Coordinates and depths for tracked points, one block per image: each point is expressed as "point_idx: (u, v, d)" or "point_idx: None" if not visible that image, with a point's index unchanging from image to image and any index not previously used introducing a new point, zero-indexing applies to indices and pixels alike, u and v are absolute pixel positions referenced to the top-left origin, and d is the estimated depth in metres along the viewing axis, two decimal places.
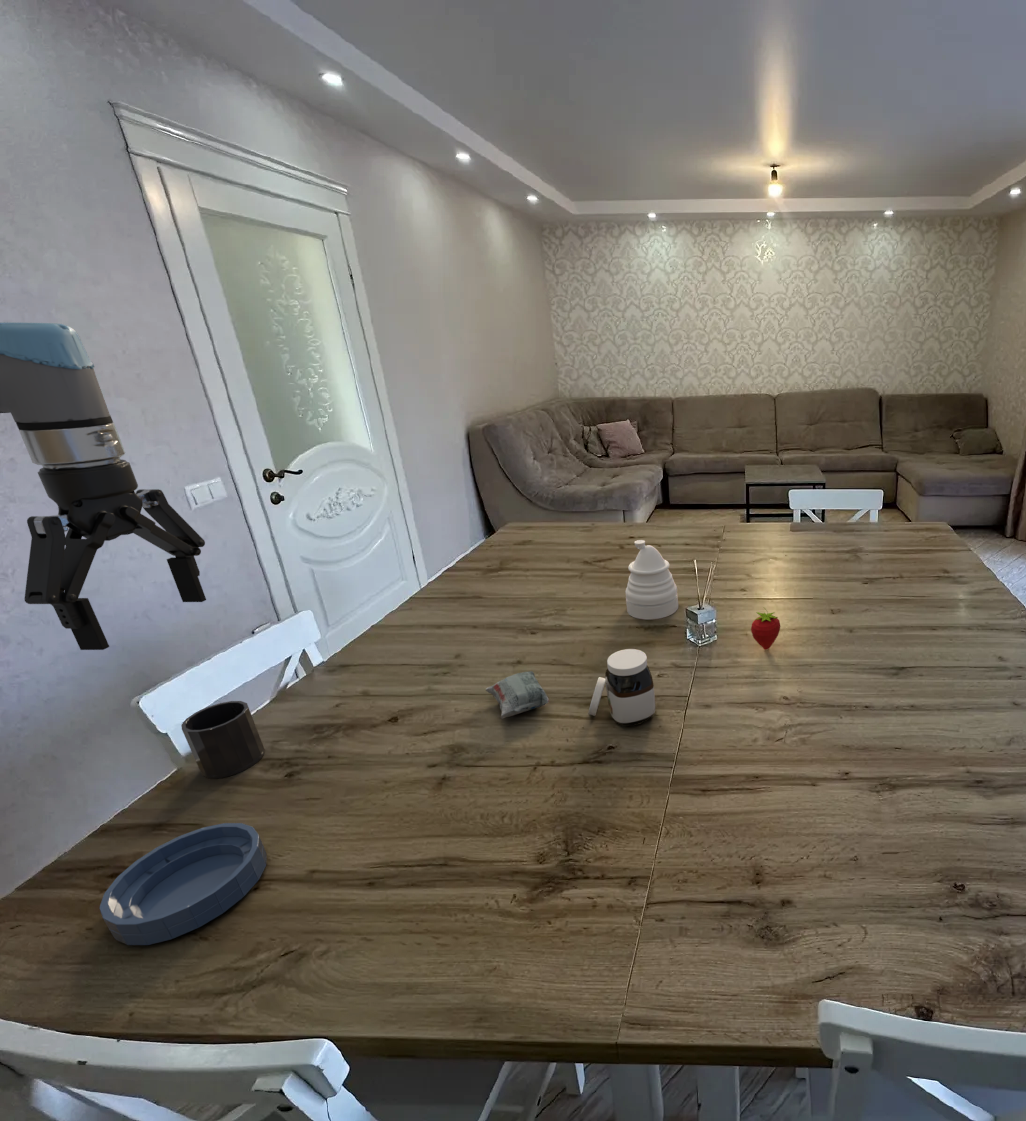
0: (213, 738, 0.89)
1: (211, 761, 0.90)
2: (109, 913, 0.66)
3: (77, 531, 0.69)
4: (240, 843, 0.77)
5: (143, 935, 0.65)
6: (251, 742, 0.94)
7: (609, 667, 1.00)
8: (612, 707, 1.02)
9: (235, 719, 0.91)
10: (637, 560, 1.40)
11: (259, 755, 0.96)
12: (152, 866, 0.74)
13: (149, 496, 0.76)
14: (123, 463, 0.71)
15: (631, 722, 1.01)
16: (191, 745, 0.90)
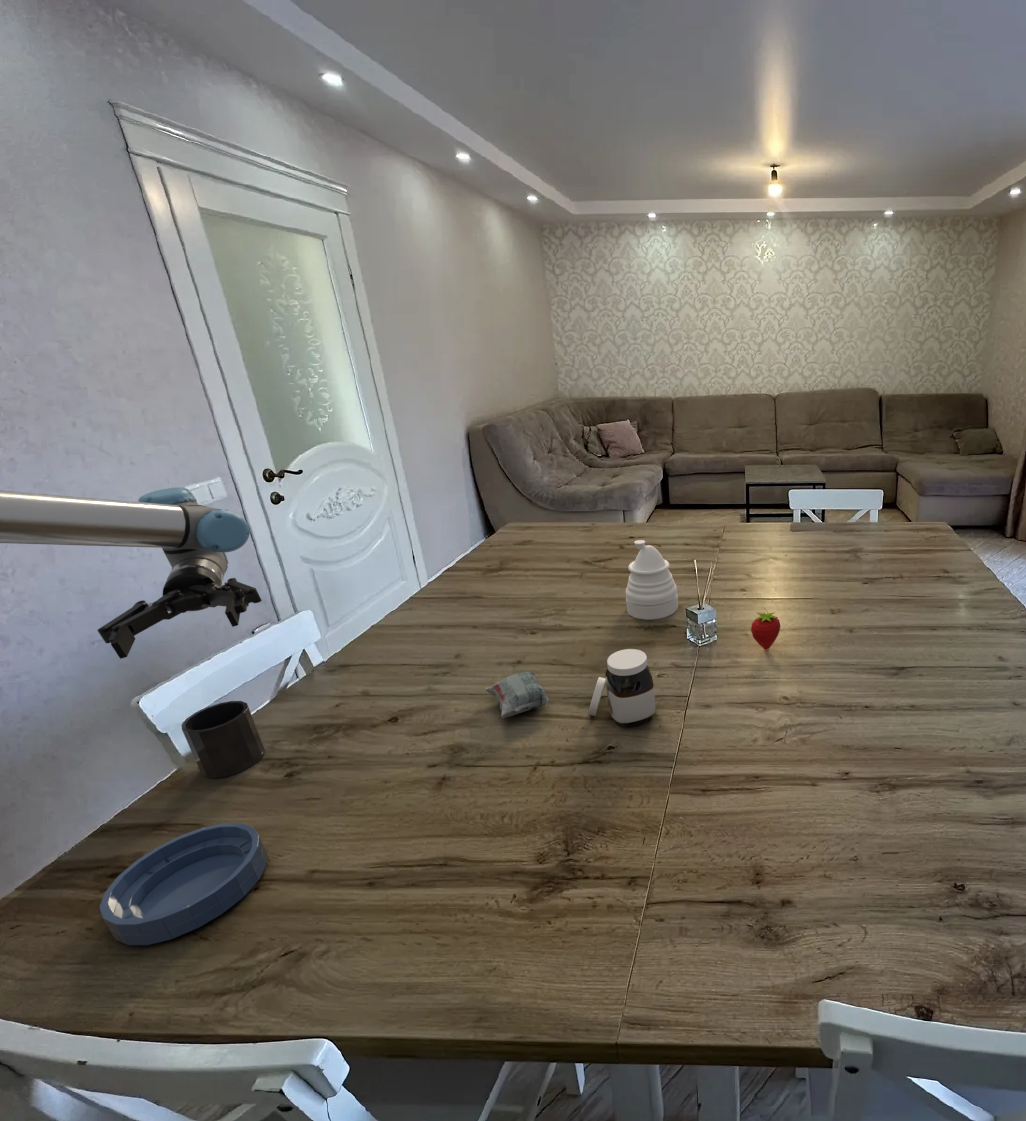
0: (213, 738, 0.89)
1: (211, 761, 0.90)
2: (109, 913, 0.66)
3: None
4: (240, 843, 0.77)
5: (143, 935, 0.65)
6: (251, 742, 0.94)
7: (609, 667, 1.00)
8: (612, 707, 1.02)
9: (235, 719, 0.91)
10: (637, 560, 1.40)
11: (259, 755, 0.96)
12: (152, 866, 0.74)
13: None
14: None
15: (631, 722, 1.01)
16: (191, 745, 0.90)
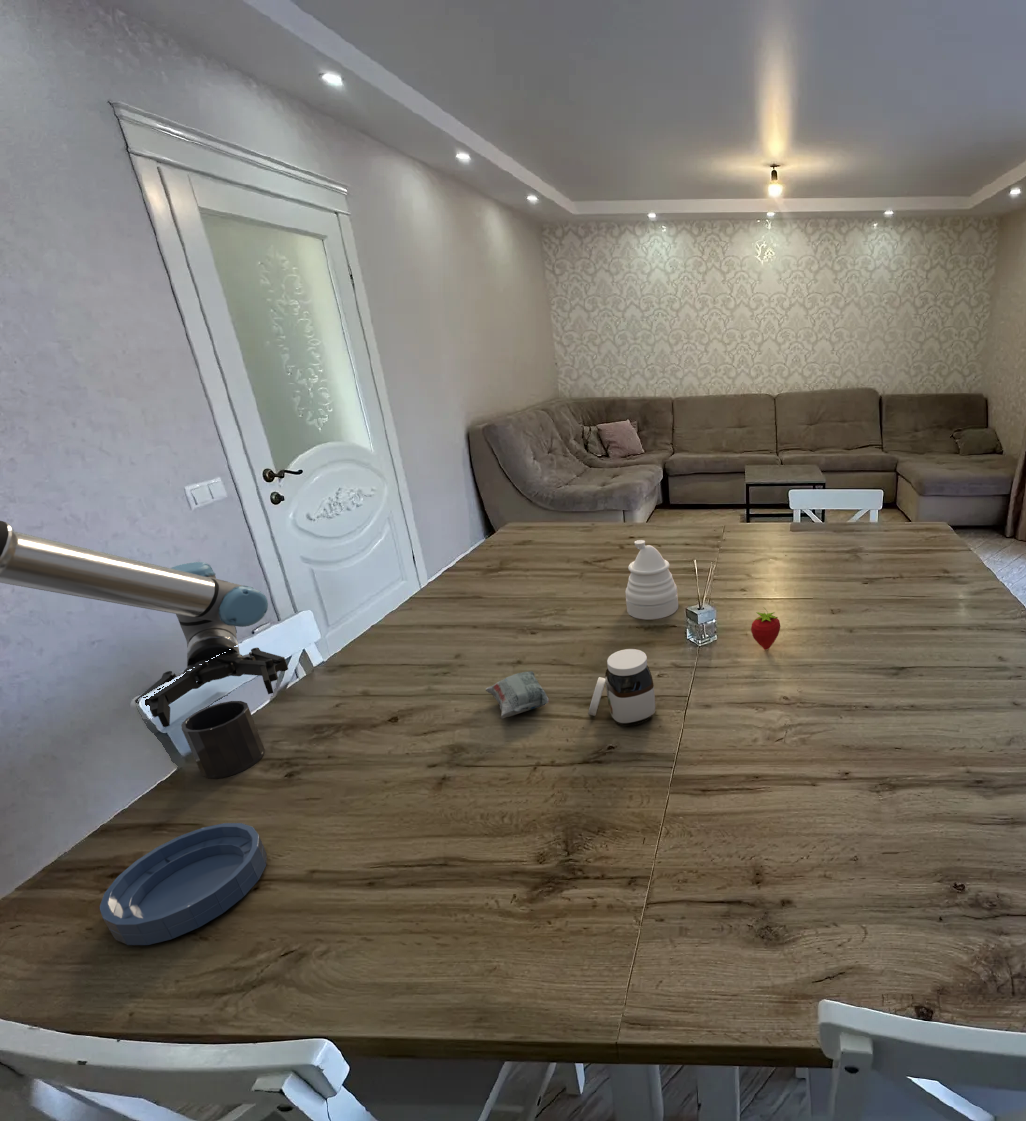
0: (213, 738, 0.89)
1: (211, 761, 0.90)
2: (109, 913, 0.66)
3: None
4: (240, 843, 0.77)
5: (143, 935, 0.65)
6: (251, 742, 0.94)
7: (609, 667, 1.00)
8: (612, 707, 1.02)
9: (235, 719, 0.91)
10: (637, 560, 1.40)
11: (259, 755, 0.96)
12: (152, 866, 0.74)
13: None
14: None
15: (631, 722, 1.01)
16: (191, 745, 0.90)
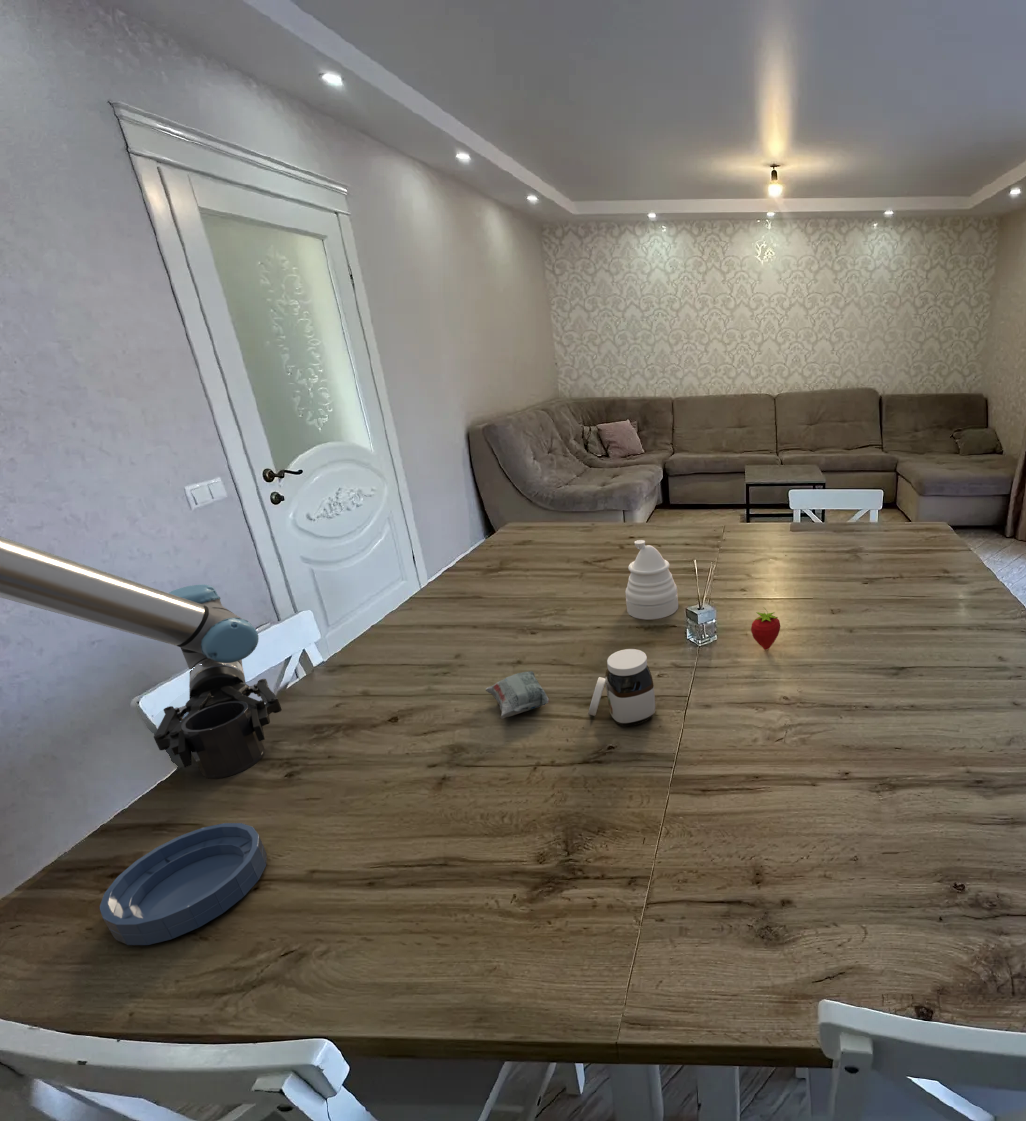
0: (213, 738, 0.89)
1: (211, 761, 0.90)
2: (109, 913, 0.66)
3: None
4: (240, 843, 0.77)
5: (143, 935, 0.65)
6: (251, 742, 0.94)
7: (609, 667, 1.00)
8: (612, 707, 1.02)
9: (235, 719, 0.91)
10: (637, 560, 1.40)
11: (259, 755, 0.96)
12: (152, 866, 0.74)
13: None
14: None
15: (631, 722, 1.01)
16: (191, 745, 0.90)
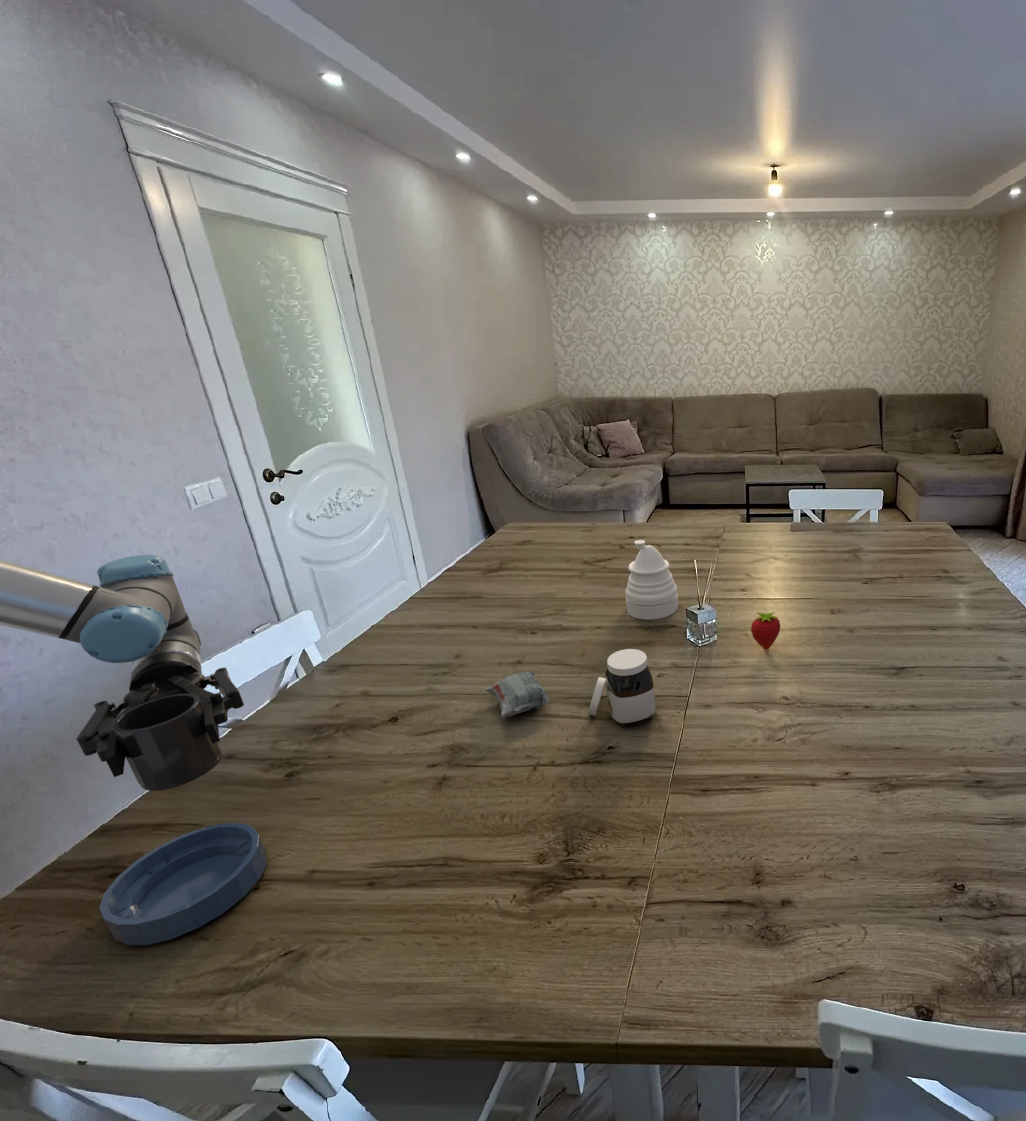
0: (152, 739, 0.71)
1: (150, 768, 0.72)
2: (109, 913, 0.66)
3: None
4: (240, 843, 0.77)
5: (143, 935, 0.65)
6: (203, 745, 0.75)
7: (609, 667, 1.00)
8: (612, 707, 1.02)
9: (181, 716, 0.73)
10: (637, 560, 1.40)
11: (214, 761, 0.77)
12: (152, 866, 0.74)
13: None
14: None
15: (631, 722, 1.01)
16: (124, 748, 0.71)
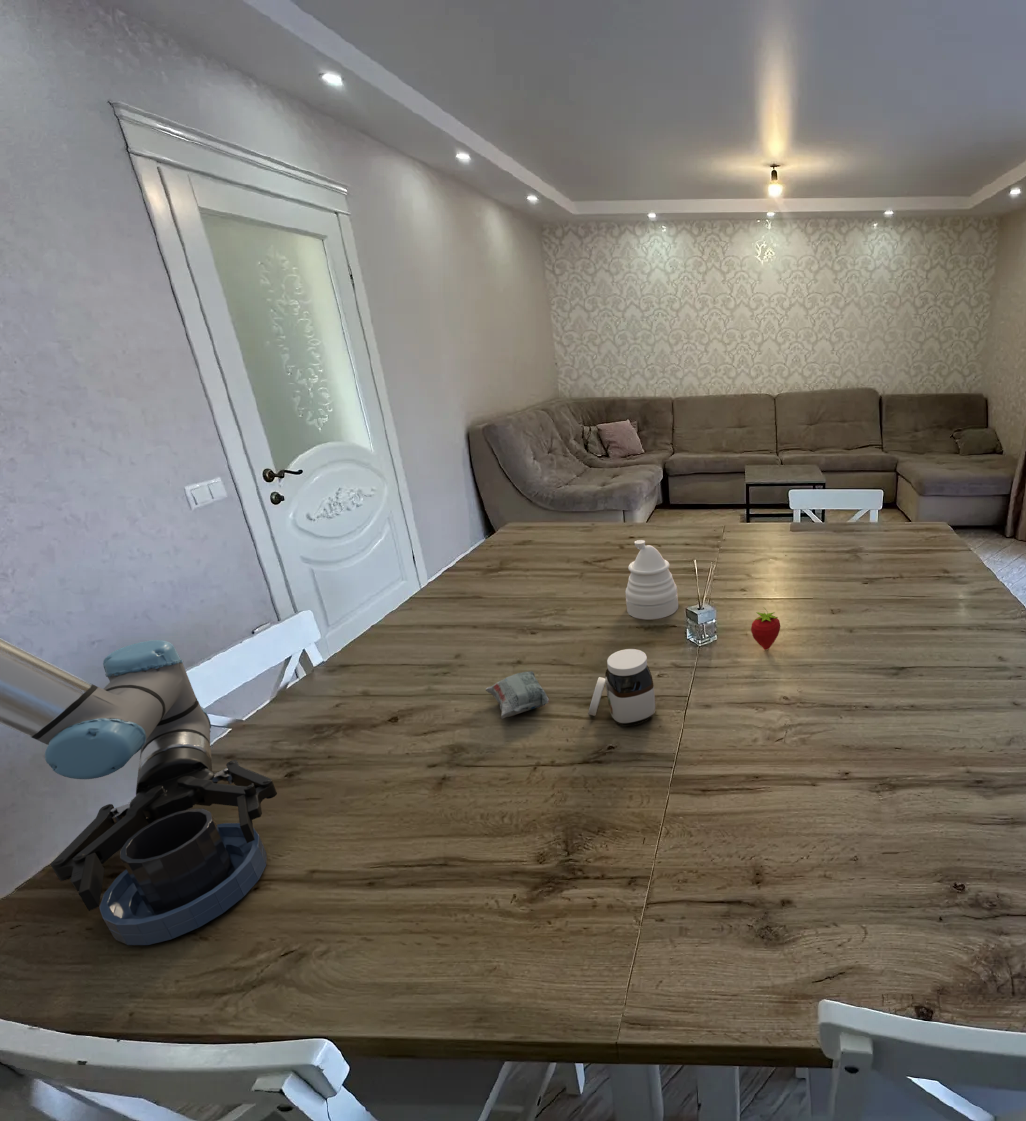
0: (162, 868, 0.67)
1: (161, 897, 0.68)
2: (109, 913, 0.66)
3: None
4: (240, 843, 0.77)
5: (143, 935, 0.65)
6: (216, 866, 0.71)
7: (609, 667, 1.00)
8: (612, 707, 1.02)
9: (193, 840, 0.69)
10: (637, 560, 1.40)
11: None
12: None
13: None
14: None
15: (631, 722, 1.01)
16: (133, 878, 0.67)
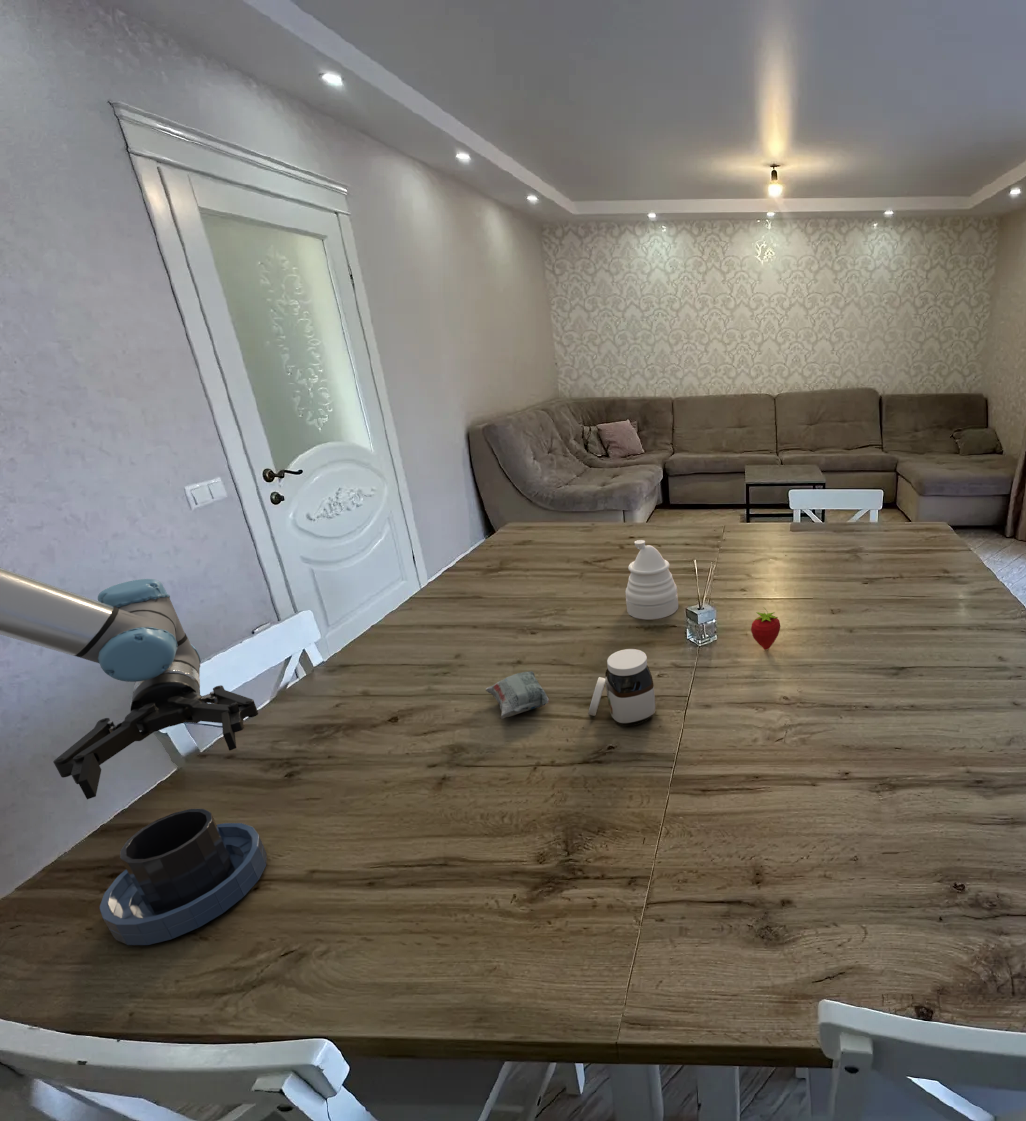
0: (162, 868, 0.67)
1: (161, 897, 0.68)
2: (109, 913, 0.66)
3: None
4: (240, 843, 0.77)
5: (143, 935, 0.65)
6: (216, 866, 0.71)
7: (609, 667, 1.00)
8: (612, 707, 1.02)
9: (193, 840, 0.69)
10: (637, 560, 1.40)
11: None
12: None
13: None
14: None
15: (631, 722, 1.01)
16: (133, 878, 0.67)
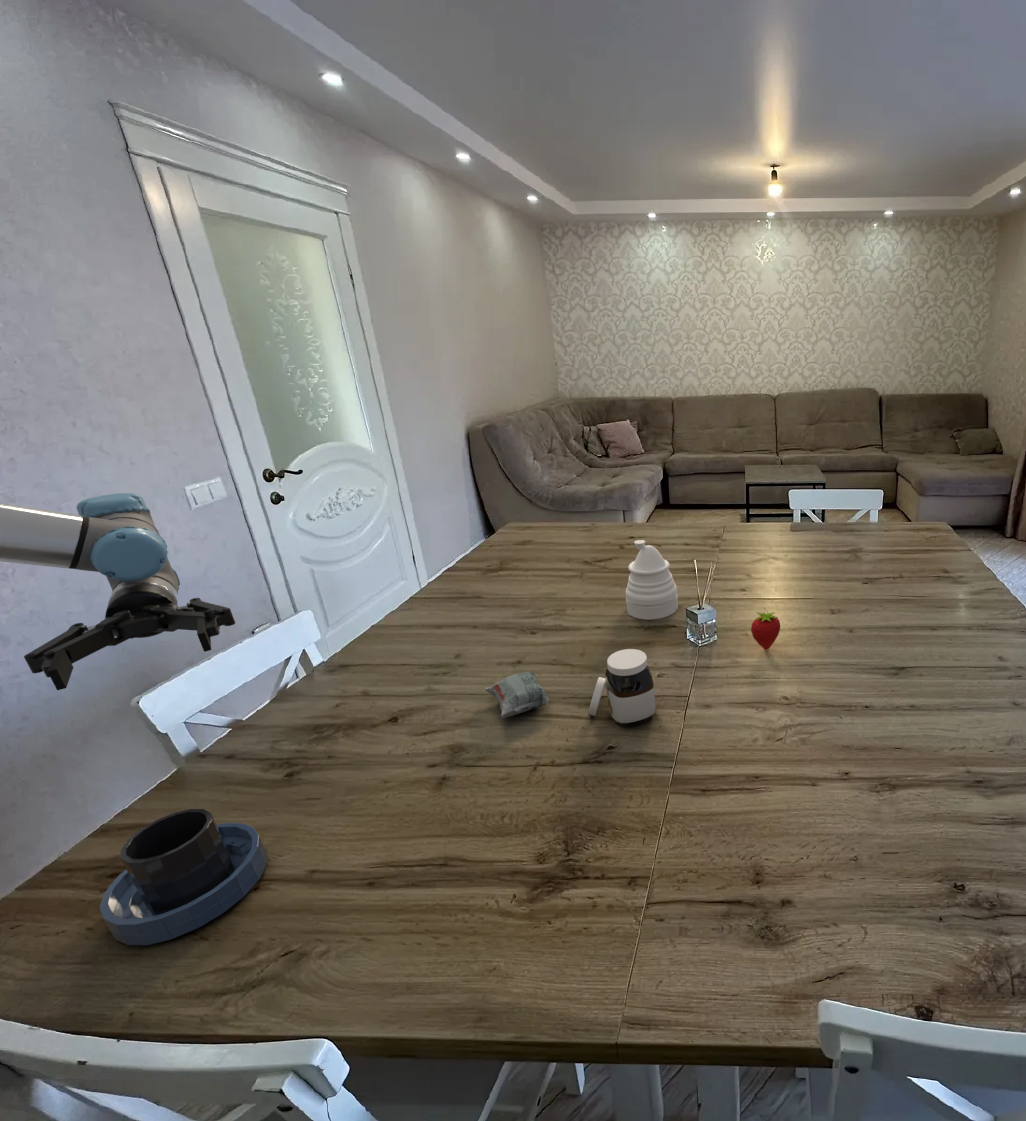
0: (162, 868, 0.67)
1: (161, 897, 0.68)
2: (109, 913, 0.66)
3: None
4: (240, 843, 0.77)
5: (143, 935, 0.65)
6: (216, 866, 0.71)
7: (609, 667, 1.00)
8: (612, 707, 1.02)
9: (193, 840, 0.69)
10: (637, 560, 1.40)
11: None
12: None
13: None
14: None
15: (631, 722, 1.01)
16: (133, 878, 0.67)
